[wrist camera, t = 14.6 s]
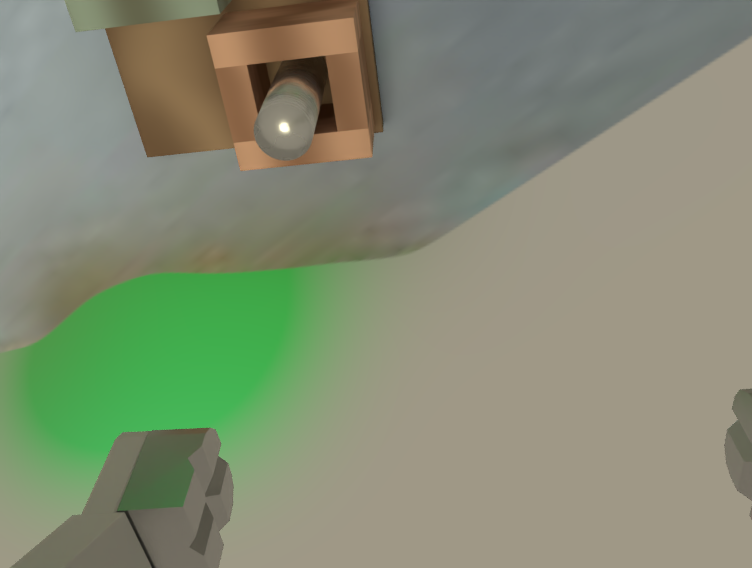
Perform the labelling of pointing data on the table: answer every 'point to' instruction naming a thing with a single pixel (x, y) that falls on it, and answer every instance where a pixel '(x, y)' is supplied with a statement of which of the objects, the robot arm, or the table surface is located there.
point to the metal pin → (291, 108)
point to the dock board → (189, 81)
